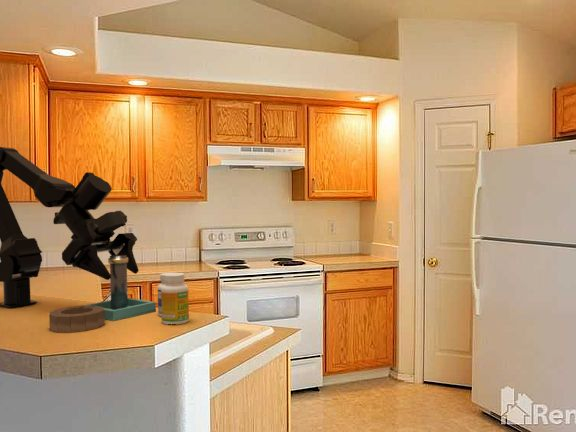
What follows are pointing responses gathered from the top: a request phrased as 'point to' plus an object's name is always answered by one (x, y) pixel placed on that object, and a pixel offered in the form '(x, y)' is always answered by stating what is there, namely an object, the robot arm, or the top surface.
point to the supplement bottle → (174, 299)
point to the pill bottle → (160, 292)
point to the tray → (126, 309)
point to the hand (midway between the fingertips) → (123, 275)
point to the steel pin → (118, 281)
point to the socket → (76, 318)
